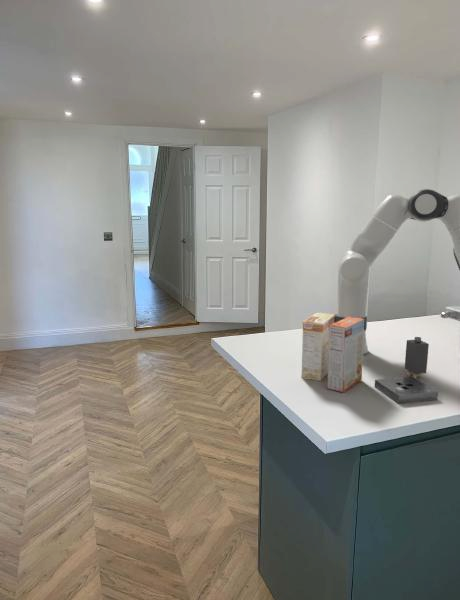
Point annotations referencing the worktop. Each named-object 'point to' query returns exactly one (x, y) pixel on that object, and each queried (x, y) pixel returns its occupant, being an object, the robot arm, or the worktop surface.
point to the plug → (416, 357)
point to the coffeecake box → (316, 346)
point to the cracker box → (345, 353)
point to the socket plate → (406, 390)
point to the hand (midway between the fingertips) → (451, 318)
